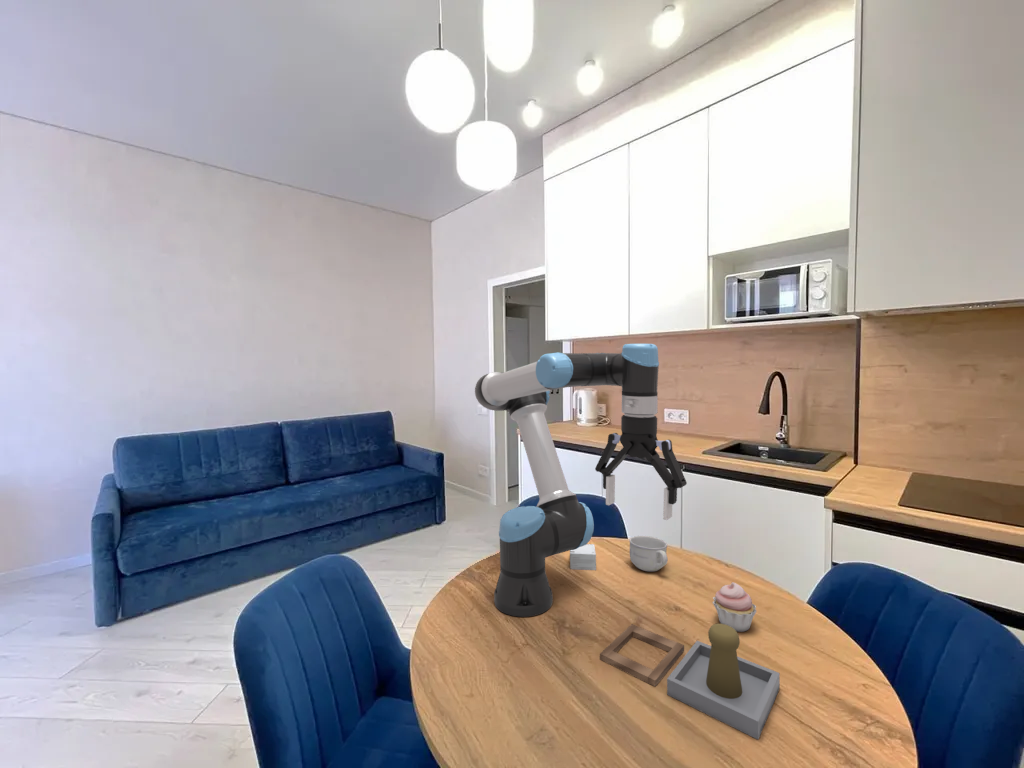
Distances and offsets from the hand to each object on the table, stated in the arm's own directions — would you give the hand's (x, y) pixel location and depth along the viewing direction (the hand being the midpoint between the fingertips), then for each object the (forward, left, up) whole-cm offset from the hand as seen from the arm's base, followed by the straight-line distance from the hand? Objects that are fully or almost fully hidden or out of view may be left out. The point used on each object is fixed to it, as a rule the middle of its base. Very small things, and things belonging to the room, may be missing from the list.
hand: (637, 510), depth 97 cm
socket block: (+3, -5, -29) cm, 29 cm away
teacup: (-13, +33, -29) cm, 46 cm away
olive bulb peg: (+19, -5, -28) cm, 34 cm away
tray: (+19, -5, -29) cm, 35 cm away
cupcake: (+14, +19, -29) cm, 37 cm away
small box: (-30, +23, -29) cm, 48 cm away
